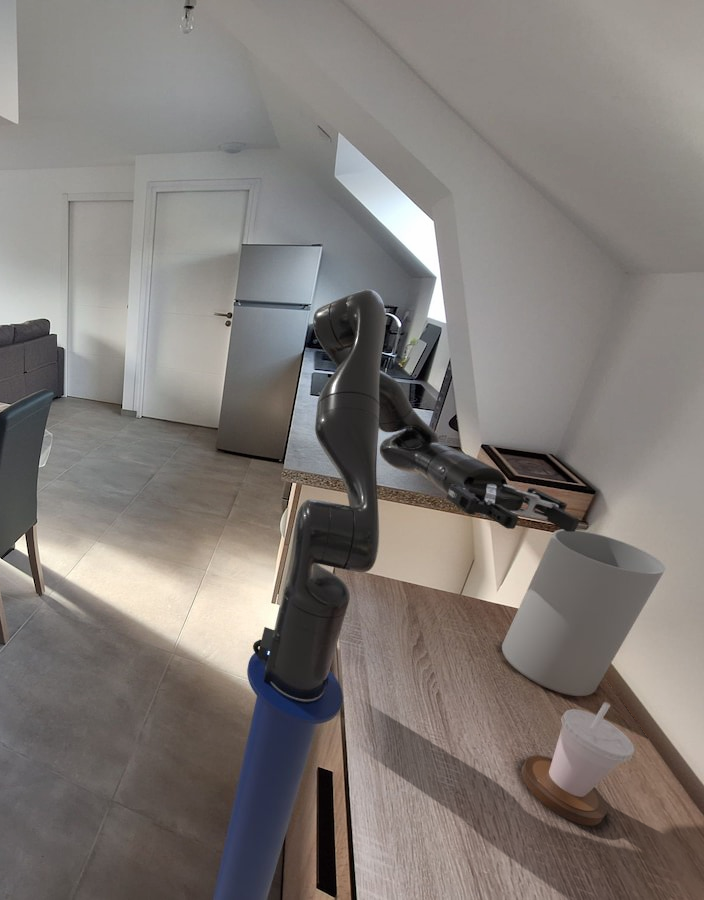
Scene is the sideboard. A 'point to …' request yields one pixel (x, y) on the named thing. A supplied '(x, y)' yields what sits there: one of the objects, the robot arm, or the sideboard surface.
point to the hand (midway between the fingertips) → (544, 524)
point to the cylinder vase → (579, 610)
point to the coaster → (562, 794)
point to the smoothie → (587, 751)
